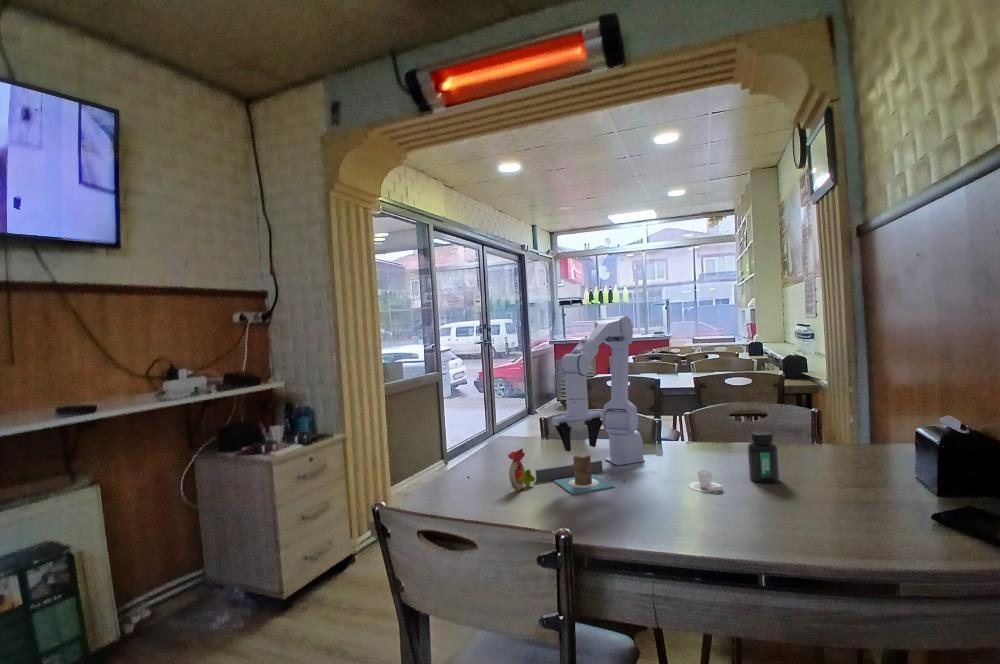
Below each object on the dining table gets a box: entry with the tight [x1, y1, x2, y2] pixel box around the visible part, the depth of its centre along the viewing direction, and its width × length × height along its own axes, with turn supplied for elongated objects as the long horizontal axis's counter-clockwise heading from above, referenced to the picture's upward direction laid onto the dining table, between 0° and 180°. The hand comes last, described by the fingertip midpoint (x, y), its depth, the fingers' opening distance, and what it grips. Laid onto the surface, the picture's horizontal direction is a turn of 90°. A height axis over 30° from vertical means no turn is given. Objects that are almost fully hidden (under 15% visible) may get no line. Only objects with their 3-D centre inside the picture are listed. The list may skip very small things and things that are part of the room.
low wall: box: [534, 459, 603, 482], centre depth 147 cm, size 20×1×3 cm, turn 106°
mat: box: [553, 473, 616, 495], centre depth 138 cm, size 12×12×1 cm
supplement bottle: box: [747, 430, 780, 485], centre depth 132 cm, size 7×7×12 cm
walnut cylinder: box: [572, 453, 592, 485], centre depth 138 cm, size 4×4×7 cm
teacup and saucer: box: [688, 470, 724, 493], centre depth 130 cm, size 9×8×4 cm
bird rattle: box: [507, 448, 536, 493], centre depth 138 cm, size 6×11×9 cm
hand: (580, 448), depth 139 cm, fingers open, 7 cm apart
